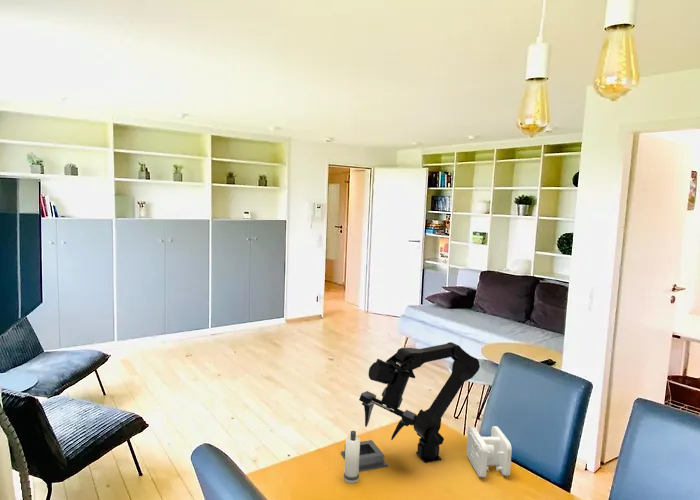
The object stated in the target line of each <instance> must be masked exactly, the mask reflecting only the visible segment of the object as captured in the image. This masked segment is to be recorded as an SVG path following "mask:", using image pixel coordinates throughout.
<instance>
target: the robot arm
mask: <svg viewBox="0 0 700 500" xmlns="http://www.w3.org/2000/svg"><path fill="white" fill-rule="evenodd" d="M449 358H451V359H452V360H453V363H452V368H451V374H450V376H449V377H448V378H447V380H446V382H445V383H444V384H443V386H442V388H441V390H440V391H439V392H438V394H437V396H436V397H435V399H434V400H433V402H432V403H431V405H430V406H429V408H427V409H425V410H423V409H420V410H419V411H418V413H415V412H412V411H411V410H408V409H405V411H404V410H401V409H399V408H400V407H401V405H402V402H403V400H404V399H403V395H404V393H405V390H406V388H407V385H408V382H409V379H410V378H411V379H416V375H415V374H414V370H416V369H418V368H420V367H421V366H422V365H423V364H426V363H429V362H430V363H431V362H435V361H439V360H444V359H449ZM480 368H481V365H480V360H479V359H478V358H476V357H475V356H472V355H470V354H469V353H467V351H465V350H464V349H463V348H462V347H461V346H460V345H458V344H456V343H455V342H452V341H450V342H447V343H443V344H438V345H433V346H428V347H424V348H423V347H422V348H415V347H401V348H398V350H397V351H396V353H394V354H393V355H392V356H390V357H389V358H388V359H386V360H382V359H381V358H380V359H379V358H377V359H376V361H374V362H373V363H372V364H371V366H369V368H368V379H370V380H371V381H374V382H377V383H380V384H384V385H386V386H385V387H384V388H383V391H382V393H381V397H382V398H381V399H379V398H377V394H375V393H372V392H370V391H368V390H367V391H363V392H362V393H361V394H360V396H359V399H358V400H359V402H361V405H362V406H363V409H364V426H365V427H368V426H369V423H370V420H371V419H370V418H371V415H372V411H373V408H374V406H375V405H376V406H378V407H379V408H382V409H384V410H385V411H387V412H390V413H392V414H394V415H397V416H398V417H400V418H401V419H400V420H399V421H398V423H397V425H396V428H395V429H394V431H393V433H392V436H391V439H390V440H391V441H393V440H394V438H395V437H396V436H397V435H398V433H399V432H400V431H401V430H402V429H403V427H405V426H406V427H409V426H413V430H414V431H415V432H416V435H417V436H419V437H420V438H419V441H418V444H417V450H416V451H415V453H416V455H417V456H418V457H419V459H421V460H422V461H423V462H424V463H425V464H427V463H430V462H431V463H432V462H437V461H441V460H442V457H441V456H440V445H443V442H444V440H445V438H444V436H443V435H441V433H440V432H439V431H440V430H441V426H442V418H443V416H444V414H445V413H446V411H447V410H448V408H449V406H450V405H451V403H452V402H453V400H454V398H455V397H456V396H457V394H458V393H459V392H460V389H461V387H462V386H463V384H464V383H465V382H467V381H469V380H470V379H473V377H474V376H475V375H476V374H477V373H478V371H479V370H480Z"/></svg>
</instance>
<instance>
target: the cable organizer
mask: <svg viewBox="0 0 700 500" xmlns="http://www.w3.org/2000/svg"><path fill="white" fill-rule="evenodd" d="M466 438H467V439H466V455H467V456H466V457H467V458H468V460H469V462H470V463H471V465H472V467H473V469H474V471H475V472H476V475H477V476H478V477H479V478H486V477H487V472H489V468H490V467H489V466H495V467H496V468H495V469H496V472H499V471H500V472H501V474H502V476H505V477H506V476H508V477H509V476H510V475H511V464H512V453H513V452H512V451H513V448H512V445H511V442H510V441H509V439H508V438H507V437H506V435H505V434H504V432H503V431H502V430H501V429H500V428H499V426H497V425H496V426H495V425H493V426H491V432H490V436H489V435H488V436H482V435H480V433H479V432H478V430H477V428H476V427H475V426H468V427H467V437H466ZM498 470H499V471H498Z"/></svg>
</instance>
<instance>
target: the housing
mask: <svg viewBox="0 0 700 500" xmlns="http://www.w3.org/2000/svg"><path fill="white" fill-rule="evenodd" d="M345 448H346V443H345V444H344V449H345ZM340 454H341V457H343V459H344V460H345V450H342V451H340ZM388 466H389V465H388V463H387V462H386V461H385V454H384V453H383V451H381V449H380V448H379V447H378V445H377V444H375V441H373V439H369V440H364V441H360V454H359V473H361V472H364V471H371V470H376V469H381V468H387V467H388Z"/></svg>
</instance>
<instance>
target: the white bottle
mask: <svg viewBox="0 0 700 500" xmlns="http://www.w3.org/2000/svg"><path fill="white" fill-rule="evenodd" d="M360 442H361V438H360V437H358V436H357V431H356V430H351V431H350V435H349V436H347V437H346V438H345V444H346V448H345V447H344V451H345V459H344V471H343V472H344V473H343V480H344V482H346V483H347V484H357V483H358V481H359V478H360V472H359V454H360Z"/></svg>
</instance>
